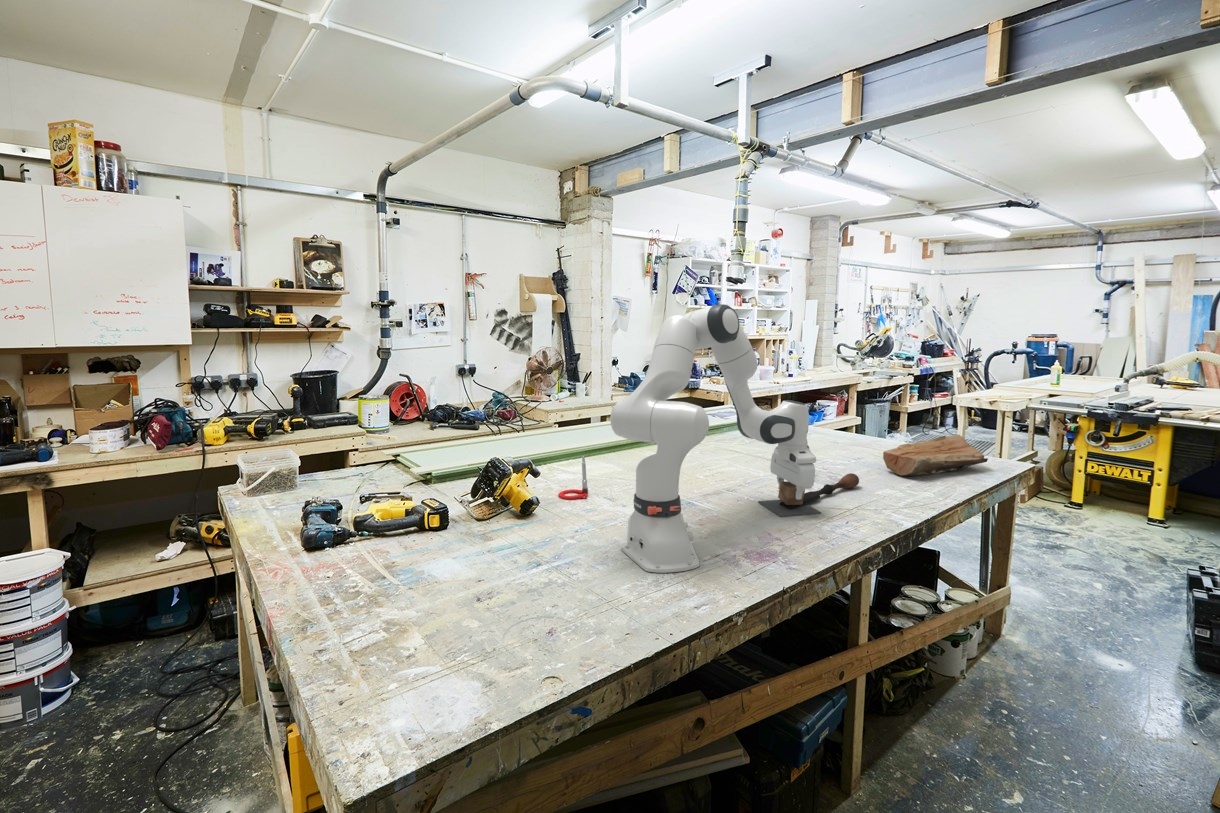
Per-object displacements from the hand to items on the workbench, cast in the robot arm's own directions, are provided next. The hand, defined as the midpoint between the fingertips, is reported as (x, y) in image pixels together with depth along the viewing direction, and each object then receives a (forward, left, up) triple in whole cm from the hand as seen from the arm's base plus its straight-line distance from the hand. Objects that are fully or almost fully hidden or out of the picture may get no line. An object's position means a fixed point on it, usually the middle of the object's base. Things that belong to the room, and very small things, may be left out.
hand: (789, 494), depth 179 cm
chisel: (+8, -17, -4) cm, 19 cm away
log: (+28, -81, -5) cm, 86 cm away
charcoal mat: (0, 0, -5) cm, 5 cm away
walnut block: (0, 0, -2) cm, 2 cm away
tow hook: (+27, +65, -5) cm, 71 cm away
